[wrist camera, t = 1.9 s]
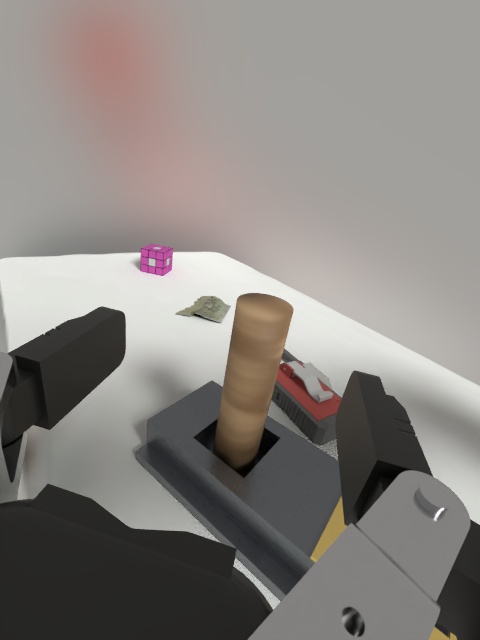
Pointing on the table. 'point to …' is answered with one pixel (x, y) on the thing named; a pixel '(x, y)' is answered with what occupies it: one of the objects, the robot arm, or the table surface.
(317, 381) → the walkie-talkie
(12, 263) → the table surface
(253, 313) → the walnut peg
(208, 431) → the socket rail
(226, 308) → the topographic map
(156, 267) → the puzzle toy
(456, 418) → the table surface
